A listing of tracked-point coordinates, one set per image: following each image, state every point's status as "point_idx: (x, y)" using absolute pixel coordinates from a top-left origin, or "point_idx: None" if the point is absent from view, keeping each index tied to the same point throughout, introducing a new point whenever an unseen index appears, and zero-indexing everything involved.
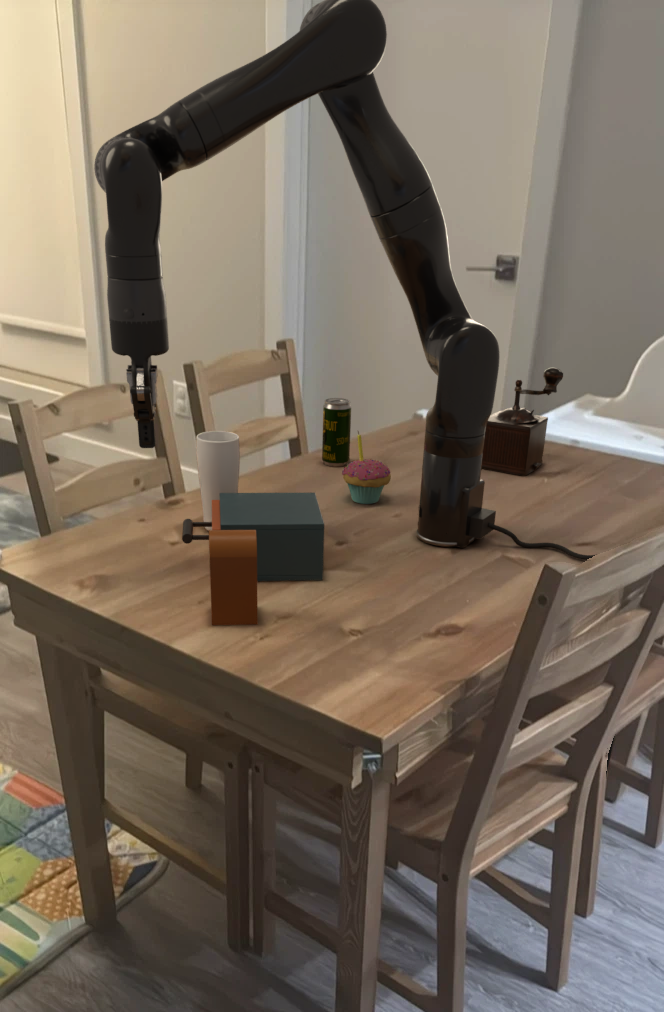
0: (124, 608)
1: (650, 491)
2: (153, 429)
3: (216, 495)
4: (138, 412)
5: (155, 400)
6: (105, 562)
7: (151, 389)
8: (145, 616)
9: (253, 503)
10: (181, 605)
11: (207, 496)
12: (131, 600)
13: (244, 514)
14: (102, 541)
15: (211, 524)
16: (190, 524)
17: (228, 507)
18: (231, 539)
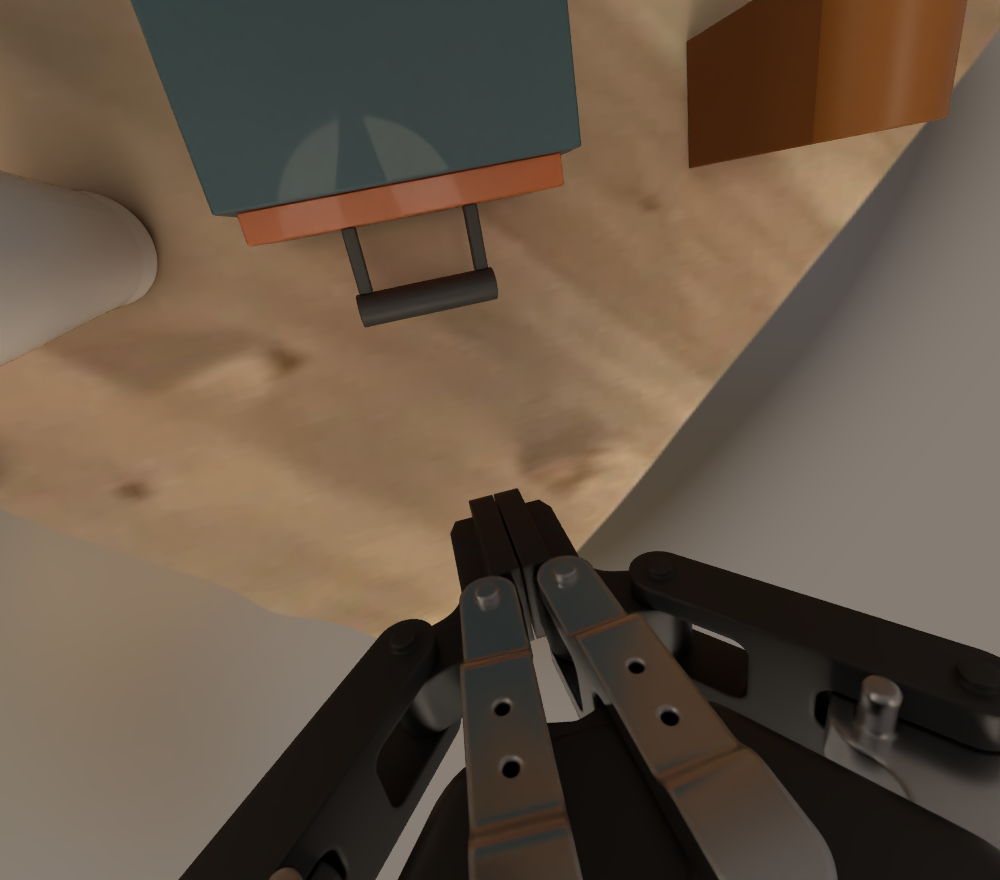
0: (679, 365)
1: None
2: (538, 534)
3: (102, 254)
4: (694, 645)
5: (648, 628)
6: (450, 478)
7: (615, 732)
8: (716, 313)
9: (308, 25)
10: (665, 248)
11: (107, 293)
12: (642, 363)
13: (460, 55)
14: (324, 526)
15: (355, 229)
16: (406, 294)
17: (390, 143)
18: (962, 25)
